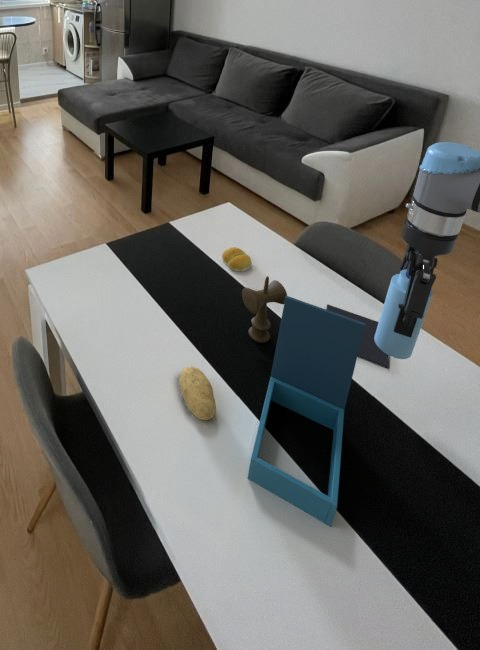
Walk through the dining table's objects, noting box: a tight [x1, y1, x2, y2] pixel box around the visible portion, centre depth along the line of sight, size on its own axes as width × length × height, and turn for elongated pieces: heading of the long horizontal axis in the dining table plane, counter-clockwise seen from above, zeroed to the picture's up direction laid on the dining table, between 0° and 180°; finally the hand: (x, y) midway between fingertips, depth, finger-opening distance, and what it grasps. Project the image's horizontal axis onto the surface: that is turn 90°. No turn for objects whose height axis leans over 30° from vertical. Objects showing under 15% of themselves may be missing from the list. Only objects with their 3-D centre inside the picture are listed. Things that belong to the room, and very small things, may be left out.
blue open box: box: [247, 376, 345, 528], centre depth 83 cm, size 19×14×8 cm
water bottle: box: [374, 264, 434, 360], centre depth 84 cm, size 6×6×20 cm
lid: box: [270, 295, 365, 410], centre depth 87 cm, size 20×14×1 cm
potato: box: [179, 365, 217, 421], centre depth 95 cm, size 7×11×6 cm, turn 7°
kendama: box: [241, 275, 288, 344], centre depth 107 cm, size 6×10×20 cm, turn 106°
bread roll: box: [221, 247, 253, 272], centre depth 136 cm, size 8×9×4 cm
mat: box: [326, 304, 390, 370], centre depth 110 cm, size 14×14×1 cm
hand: (400, 320), depth 85 cm, fingers closed on water bottle, 6 cm apart
